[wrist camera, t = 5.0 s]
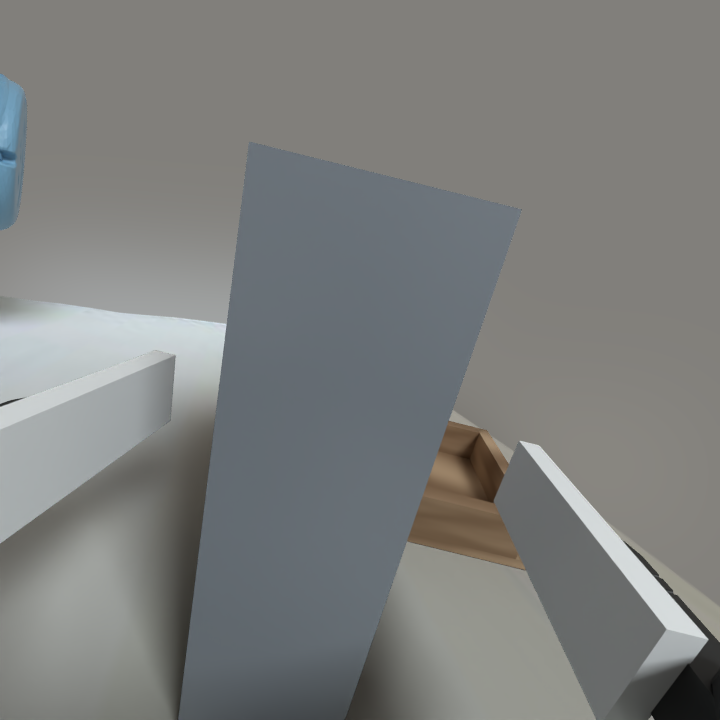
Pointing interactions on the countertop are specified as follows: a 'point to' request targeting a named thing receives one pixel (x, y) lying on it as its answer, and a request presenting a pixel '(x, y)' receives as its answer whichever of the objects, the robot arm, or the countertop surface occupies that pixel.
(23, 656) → the countertop surface
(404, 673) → the countertop surface
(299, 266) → the block
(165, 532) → the countertop surface
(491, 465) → the divided wooden tray
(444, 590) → the countertop surface
